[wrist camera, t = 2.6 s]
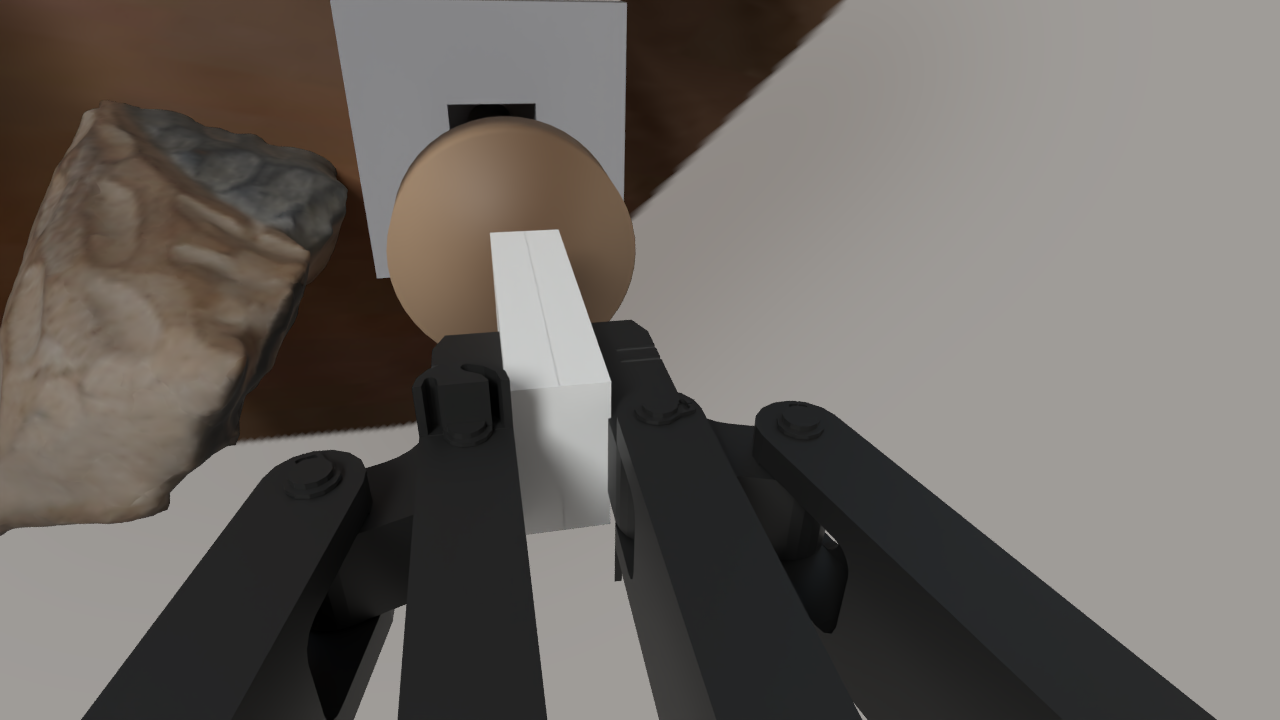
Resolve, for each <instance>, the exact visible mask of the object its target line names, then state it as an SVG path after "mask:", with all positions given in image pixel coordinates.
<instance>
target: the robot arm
mask: <svg viewBox="0 0 1280 720" xmlns="http://www.w3.org/2000/svg"><path fill="white" fill-rule="evenodd" d="M490 240H491V253H492V265H493V277H494V290H495V302H496V314H497V327H498V332H486V333H472V334H459V335H445V336H444V337H443V338H442V339H441V341H440V342H439V343H438V344H437V345H436V346H435V347H434V349H433V350H432V362H431V367H432V368H430V369H428V370H426V371H425V372H424V373H423V374H421V375H420V376H419V377H417V378H416V380H415V382H414V384H413V386H412V393H413V399H414V406H415V412H416V418H417V425H418V431H419V443H418V444H417V445H416V446H415V447H413V449H411V450H410V451H408V452H406V453H405V454H403V455H401V456H399V457H397V458H395V459H392V460H390V461H387V462H385V463H381V464H378V465H375V466H372V467H368V468H365V467H364V464H363V462H362V460H361V459H359V458H357V457H356V456H354V455H352V454H351V453H348V452H342V451H336V450H327V451H313V452H310V453H306V454H302V455H299V456H296V457H293V458H291V459H289V460H287V461H285V462H283V463H281V464H279V465H277V466H276V467H274V468H273V469H272V470H271V471H270V472H269V473H268V474H267V475H266V476H265V477H264V478H263V479H262V480H261V481H260V483H259V484H258V485H257V486H256V488H255V489H254V490H253V492H252V493H251V494H250V496H249V497H248V499H247V500H246V501H245V502H244V504H243V505H242V506H241V508H240V509H239V510H238V512H237V513H236V514H235V516H234V517H233V518H232V520H231V521H230V522H229V524H228V525H227V526H226V528H225V529H224V530H223V532H222V533H221V534H220V536H219V537H218V538H217V540H216V541H215V542H214V544H213V545H212V546H211V548H210V549H209V550H208V552H207V553H206V554H205V556H204V557H203V558H202V560H201V561H200V562H199V564H198V565H197V566H196V568H195V569H194V570H193V572H192V573H191V574H190V576H189V577H188V578H187V580H186V581H185V582H184V584H183V585H182V586H181V588H180V589H179V590H178V592H177V593H176V594H175V595H174V597H173V598H172V600H171V601H170V602H169V603H168V605H167V606H166V608H165V609H164V610H163V611H162V613H161V614H160V615H159V617H158V618H157V619H156V621H155V622H154V623H153V625H152V626H151V627H150V629H149V630H148V631H147V633H146V634H145V635H144V637H143V638H142V639H141V641H140V642H139V644H138V645H137V646H136V647H135V649H134V650H133V652H132V653H131V654H130V655H129V657H128V658H127V659H126V661H125V662H124V663H123V665H122V666H121V667H120V669H119V670H118V671H117V673H116V674H115V675H114V677H113V678H112V679H111V681H110V682H109V683H108V685H107V686H106V687H105V689H104V690H103V691H102V693H101V694H100V695H99V697H98V698H97V700H96V701H95V702H94V704H93V705H92V706H91V707H90V709H89V710H88V711H87V713H86V714H85V715H84V717H83V718H82V719H81V720H354V717H355V715H356V712H357V710H358V707H359V705H360V702H361V700H362V697H363V695H364V692H365V690H366V687H367V685H368V682H369V680H370V677H371V674H372V672H373V670H374V667H375V665H376V662H377V659H378V657H379V654H380V652H381V649H382V647H383V644H384V642H385V639H386V637H387V634H388V632H389V629H390V626H391V624H392V622H393V615H394V609H395V608H397V607H400V606H403V605H405V604H407V605H406V618H405V631H404V645H403V657H402V670H401V683H400V696H399V709H398V720H547V714H546V705H545V697H544V688H543V679H542V670H541V662H540V654H539V645H538V636H537V628H536V619H535V610H534V601H533V593H532V585H531V576H530V568H529V558H528V550H527V541H526V535H527V534H535V533H543V532H551V531H558V530H566V529H574V528H581V527H589V526H597V525H604V524H610V502H611V506H612V510H613V513H614V517H615V521H616V523H615V524H616V525H615V581H621V579H622V575H623V579H624V583H625V587H626V591H627V595H628V599H629V603H630V606H631V611H632V614H633V618H634V622H635V626H636V630H637V634H638V638H639V642H640V645H641V650H642V654H643V658H644V662H645V666H646V670H647V673H648V677H649V681H650V685H651V689H652V693H653V697H654V701H655V705H656V709H657V713H658V717H659V720H862V718H861V716H860V715H859V713H858V711H857V709H856V707H855V705H856V706H857V707H858V708H859V710H860V711H861V712H862V713H863V715H864V716H865V717H866V718H867V720H1216V719H1215V718H1214V717H1213V716H1211V715H1210V714H1209V713H1208V712H1206V711H1205V710H1204V709H1203V708H1201V707H1200V706H1199V705H1198V704H1196V703H1195V702H1194V701H1192V700H1191V699H1190V698H1189V697H1187V696H1186V695H1185V694H1184V693H1182V692H1181V691H1180V690H1179V689H1178V688H1176V687H1175V686H1174V685H1172V684H1171V683H1170V682H1169V681H1168V680H1166V679H1165V678H1164V677H1162V676H1161V675H1160V674H1159V673H1158V672H1156V671H1155V670H1154V669H1153V668H1151V667H1150V666H1149V665H1147V664H1146V663H1145V662H1144V661H1142V660H1141V659H1140V658H1139V657H1137V656H1136V655H1135V654H1134V653H1132V652H1131V651H1130V650H1129V649H1127V648H1126V647H1125V646H1123V645H1122V644H1121V643H1120V642H1119V641H1117V640H1116V639H1115V638H1114V637H1112V636H1111V635H1110V634H1109V633H1107V632H1106V631H1105V630H1104V629H1102V628H1101V627H1100V626H1099V625H1097V624H1096V623H1095V622H1094V621H1092V620H1091V619H1090V618H1089V617H1087V616H1086V615H1085V614H1084V613H1082V612H1081V611H1080V610H1078V609H1077V608H1076V607H1075V606H1073V605H1072V604H1071V603H1070V602H1068V601H1067V600H1066V599H1065V598H1063V597H1062V596H1061V595H1060V594H1059V593H1057V592H1056V591H1055V590H1054V589H1052V588H1051V587H1050V586H1048V585H1047V584H1046V583H1045V582H1043V581H1042V580H1041V579H1040V578H1038V577H1037V576H1036V575H1035V574H1033V573H1032V572H1031V571H1030V570H1028V569H1027V568H1026V567H1025V566H1023V565H1022V564H1021V563H1020V562H1018V561H1017V560H1016V559H1015V558H1013V557H1012V556H1011V555H1010V554H1008V553H1007V552H1006V551H1005V550H1003V549H1002V548H1001V547H1000V546H998V545H997V544H996V543H994V542H993V541H992V540H991V539H990V538H988V537H987V536H986V535H985V534H983V533H982V532H981V531H980V530H978V529H977V528H976V527H974V526H973V525H972V524H971V523H969V522H968V521H967V520H966V519H964V518H963V517H962V516H961V515H960V514H958V513H957V512H956V511H955V510H953V509H952V508H951V507H949V506H948V505H947V504H945V503H944V502H943V501H942V500H941V499H939V498H938V497H937V496H936V495H934V494H933V493H932V492H931V491H929V490H928V489H927V488H926V487H924V486H923V485H922V484H921V483H919V482H918V481H917V480H916V479H914V478H913V477H912V476H911V475H909V474H908V473H907V472H906V471H904V470H903V469H902V468H901V467H899V466H898V465H897V464H896V463H894V462H893V461H892V460H891V459H889V458H888V457H887V456H886V455H884V454H883V453H882V452H880V451H879V450H878V449H877V448H876V447H874V446H873V445H872V444H871V443H869V442H868V441H867V440H866V439H864V438H863V437H862V436H860V435H859V434H858V433H857V432H856V431H854V430H853V429H852V428H850V427H849V426H848V425H847V424H845V423H844V422H843V421H842V420H840V419H839V418H838V417H836V416H835V415H834V414H832V413H830V412H829V411H827V410H825V409H824V408H822V407H819V406H815V405H812V404H809V403H806V402H800V401H799V402H796V401H784V402H776V403H772V404H770V405H768V406H766V407H763V408H762V409H761V410H760V411H759V413H758V414H757V415H756V418H755V426H747V425H737V424H728V423H722V422H716V421H713V420H709V419H707V418H706V416H705V414H704V412H703V410H702V408H701V407H700V406H699V405H698V404H697V403H696V402H695V401H694V400H693V399H691V398H690V397H687V396H686V395H683V394H682V393H678V392H677V390H676V388H675V386H674V384H673V382H672V380H671V378H670V376H669V374H668V372H667V370H666V368H665V366H664V363H663V362H662V360H661V359H660V355H659V353H658V351H657V349H656V348H655V347H654V343H653V341H652V339H651V337H650V335H649V333H648V331H647V330H645V329H644V328H642V327H641V326H640V325H638V324H637V323H635V322H634V321H632V320H624V321H609V322H595V323H591V322H590V319H589V316H588V313H587V310H586V308H585V305H584V302H583V299H582V296H581V293H580V290H579V287H578V284H577V282H576V279H575V276H574V273H573V270H572V267H571V264H570V261H569V258H568V256H567V253H566V250H565V247H564V244H563V241H562V238H561V235H560V233H559V230H537V231H515V232H494V233H490ZM825 530H826V531H827V532H828V533H829V534H830V535H831V536H832V537H833V538H834V539H835V540H836V541H837V543H838V544H837V543H836V542H834V541H833V540H832V539H831V538H830V537H829V536H828V535H827V534H826V533H825ZM853 702H854V703H855V705H854V703H853Z"/></svg>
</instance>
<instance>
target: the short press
mask: <svg viewBox="0 0 1280 720" xmlns="http://www.w3.org/2000/svg"><path fill="white" fill-rule="evenodd" d="M330 3H331V9H332V15H333V21H334V27H335V32H336V38H337V44H338V50H339V56H340V62H341V68H342V74H343V80H344V86H345V92H346V98H347V104H348V110H349V115H350V121H351V127H352V133H353V139H354V145H355V151H356V157H357V163H358V169H359V175H360V181H361V187H362V193H363V198H364V204H365V210H366V216H367V222H368V228H369V234H370V240H371V246H372V252H373V258H374V264H375V270H376V276H377V278H390V274H389V270H388V263H387V252H386V250H387V235H388V230H389V225H390V221H391V216H392V212H393V208H394V204H395V200H396V196H397V192H398V189H399V187H400V184H401V181H402V179H403V177H404V175H405V174H406V172H407V170H408V168H409V166H410V165H411V164H412V162H413V161H414V160H415V158H416V157H417V156H418V154H419V153H420V152H421V151H422V150H423V149H424V148H425V147H426V146H428V145H429V144H430V143H431V142H432V141H434V140H435V139H436V138H438V137H439V136H440V135H442V134H443V133H445V132H447V131H449V130H450V121H449V111H448V105H450V104H529V103H534V120H537V121H540V122H543V123H546V124H549V125H552V126H554V127H556V128H558V129H560V130H562V131H564V132H566V133H567V134H569V135H570V136H572V137H573V138H575V139H576V140H577V141H579V142H580V143H581V144H582V145H583V146H584V147H586V148H587V149H588V150H589V151H590V152H591V153H592V155H593V156H594V157H595V158H596V159H597V160H598V162H599V163H600V165H601V166H602V168H603V169H604V170H605V172H606V173H607V175H608V177H609V178H610V180H611V181H612V183H613V184H614V186H615V187H616V189H617V190H618V192H619V193H620V195H621V197H622V199H623V201H624V156H625V94H626V32H627V3H626V2H623V1H620V0H330Z"/></svg>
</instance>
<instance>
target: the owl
mask: <svg viewBox="0 0 1280 720" xmlns="http://www.w3.org/2000/svg"><path fill="white" fill-rule="evenodd" d="M336 175H337V173H336V168H335V167H334V166H333V165H332V164H331V163H330V162H329V161H328V160H327V159H325V158H324V157H322V156H320V155H317V154H315V153H313V152H311V151H307V150H303V149H299V148H294V147H278V146H274V145H269V144H267V143H266V142H264V140H263V139H262V138H260V137H258V136H257V135H254V134H234V133H231V132H229V131H227V130H223V129H221V128H213V127H205V126H203V125H201V124H199V123H198V122H195V121H194V120H193V119H192V118H190V117H188V116H186V115H184V114H181V113H177V112H173V111H168V110H160V109H140V108H139V107H135V106H131V105H128V104H126V103H117V102H114V101H110V100H102V101H101V102H100V107H99V108H96V109H91V110H89V111H86V112H85V113H84V114H83V116H82V119H81V123H80V126H79V128H78V131H77V133H76V135H75V137H74V139H73V142H72V144H71V146H70V148H69V149H68V150H67V152H66V153H65V156H64V157H63V159H62V160H61V161H60V163H59V164H58V166H57V167H56V169H55V171H54V173H53V177H52V180H51V183H50V185H49V187H48V189H47V192H46V194H45V197H44V199H43V201H42V203H41V205H40V208H39V211H38V214H37V216H36V218H35V221H34V223H33V226H32V228H31V232H30V235H29V239H28V243H27V246H26V249H25V251H24V255H23V261H22V264H21V266H20V269H19V272H18V275H17V277H16V279H15V282H14V285H13V289H12V291H11V294H10V295H9V298H8V301H7V304H6V307H5V312H4V316H3V320H2V325H1V328H0V536H1V535H3V534H4V533H6V532H7V531H9V530H11V529H14V528H22V527H46V526H56V525H69V524H94V523H100V524H101V523H102V524H113V523H123V522H129V521H134V520H136V519H141V518H146V517H149V516H154V515H155V514H157V513H160V512H162V511H165V510H167V509H168V507H169V504H170V492H171V491H172V490H173V489H174V488H175V487H176V486H177V485H178V484H179V483H180V481H182V480H183V479H184V478H185V477H186V475H187V474H189V473H190V472H192V471H193V470H194V469H196V468H197V467H199V466H200V465H201V464H203V463H204V462H205V461H206V460H207V459H208V458H210V457H211V455H213V454H214V453H216V452H218V451H220V450H221V449H223V448H225V447H226V446H231V445H236V442H237V440H238V437H239V435H240V433H239V419H240V415H241V411H242V407H243V403H244V399H245V396H246V395H247V394H248V393H250V392H251V391H252V390H253V389H255V388H256V387H257V385H258V384H259V382H260V380H261V379H262V378H263V377H264V376H265V374H266V373H268V372H269V371H270V370H271V369H272V367H273V365H274V364H275V360H276V356H277V353H278V351H279V348H280V346H281V344H282V341H283V339H284V338H285V336H286V334H287V333H288V331H289V329H290V328H291V326H292V325H293V323H294V322H295V319H296V317H297V314H298V308H299V304H300V301H301V299H302V297H303V294H304V290H305V286H306V285H307V284H309V283H311V282H312V281H313V280H314V279H315V278H316V277H317V276H318V275H319V274H320V272H321V271H322V270H323V269H324V268H325V267H326V265H327V262H328V261H329V260H330V256H331V254H332V253H333V251H334V248H335V244H336V242H337V239H338V236H339V230H340V227H341V224H342V221H343V219H344V217H345V214H346V199H347V191H348V190H347V188H346V187H345V186H344V185H343V184H342V183H341V182H339V181H338V180H337V178H336Z"/></svg>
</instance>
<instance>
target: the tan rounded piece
mask: <svg viewBox="0 0 1280 720" xmlns="http://www.w3.org/2000/svg"><path fill="white" fill-rule="evenodd" d="M448 111H449V121H450V130H449V131H447V132H445V133H443V134H442V135H440V136H439V137H438V138H436V139H435V140H434V141H432V142H431V143H430V144H429V145H428V146H426V147H425V148H424V149H423V150H422V151H421V152H420V153H419V154H418V156H417V157H416V158H415V160H414V161H413V162H412V164H411V165H410V166H409V168H408V170H407V172H406V174H405V175H404V177H403V179H402V181H401V184H400V187H399V189H398V192H397V196H396V200H395V204H394V208H393V212H392V216H391V221H390V225H389V230H388V235H387V250H386V252H387V263H388V270H389V274H390V278H391V282H392V285H393V287H394V290H395V293H396V295H397V297H398V299H399V301H400V303H401V304H402V306H403V308H404V310H405V311H406V312H407V314H408V315H409V316H410V318H411V319H412V320H413V322H414V323H415V324H416V325H417V326H418V327H419V328H420V329H421V330H422V331H423V332H424V333H425V334H426V335H428V336H429V337H430V338H431V339H433V340H434V341H435V342H436V343H439V342H440V341H441V339H442V338H443V337H444V336H445V335H459V334H472V333H486V332H498V327H497V314H496V302H495V290H494V277H493V265H492V253H491V240H490V233H494V232H515V231H537V230H559V233H560V235H561V238H562V241H563V244H564V247H565V250H566V253H567V256H568V258H569V261H570V264H571V267H572V270H573V273H574V276H575V279H576V282H577V284H578V287H579V290H580V293H581V296H582V299H583V302H584V305H585V308H586V310H587V313H588V316H589V319H590V322H591V323H595V322H609V321H610V319H611V318H612V317H613V315H614V314H615V312H616V311H617V310H618V308H619V306H620V305H621V303H622V301H623V299H624V297H625V295H626V293H627V290H628V288H629V285H630V282H631V279H632V274H633V270H634V263H635V236H634V231H633V225H632V221H631V218H630V215H629V212H628V209H627V207H626V205H625V203H624V201H623V199H622V197H621V195H620V193H619V192H618V190H617V189H616V187H615V186H614V184H613V183H612V181H611V180H610V178H609V177H608V175H607V173H606V172H605V170H604V169H603V168H602V166H601V165H600V163H599V162H598V160H597V159H596V158H595V157H594V156H593V155H592V153H591V152H590V151H589V150H588V149H587V148H586V147H584V146H583V145H582V144H581V143H580V142H579V141H577V140H576V139H575V138H573V137H572V136H570V135H569V134H567V133H566V132H564V131H562V130H560V129H558V128H556V127H554V126H552V125H549V124H546V123H543V122H540V121H537V120H534V103H529V104H450V105H448Z"/></svg>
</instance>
